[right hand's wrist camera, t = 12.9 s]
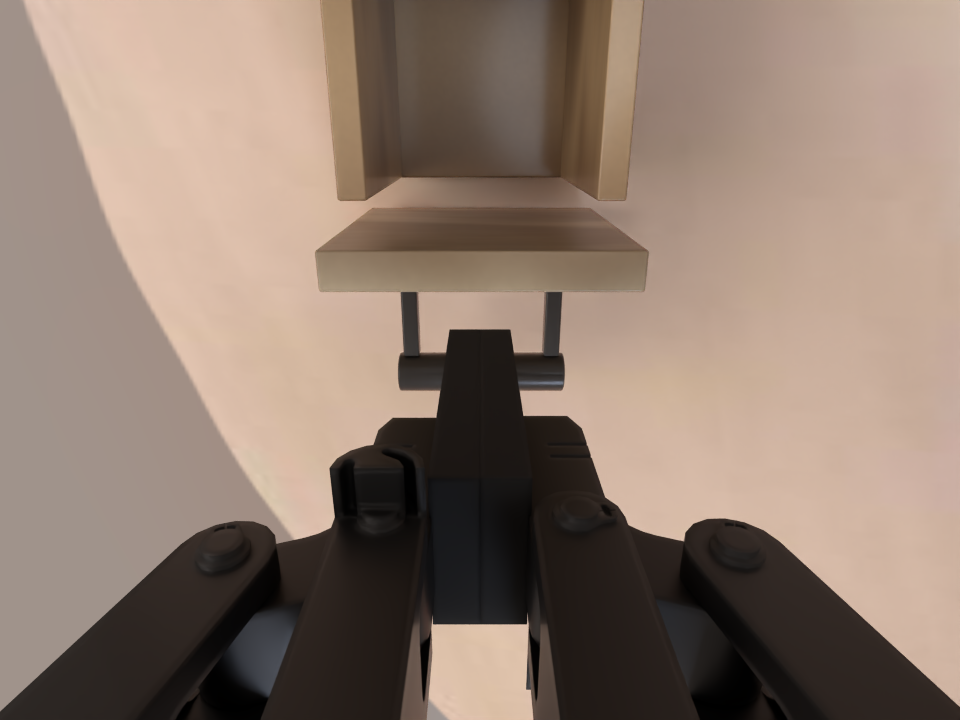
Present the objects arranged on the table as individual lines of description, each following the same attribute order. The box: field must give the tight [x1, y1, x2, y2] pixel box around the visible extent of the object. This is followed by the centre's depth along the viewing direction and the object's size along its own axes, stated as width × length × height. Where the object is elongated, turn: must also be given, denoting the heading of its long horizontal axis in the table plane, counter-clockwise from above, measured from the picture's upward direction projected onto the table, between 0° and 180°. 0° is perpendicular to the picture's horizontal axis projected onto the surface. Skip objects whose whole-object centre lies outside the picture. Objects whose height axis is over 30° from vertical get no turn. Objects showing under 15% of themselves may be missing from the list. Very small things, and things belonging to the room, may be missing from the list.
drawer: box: [315, 0, 649, 391], centre depth 18 cm, size 24×9×9 cm, turn 0°
